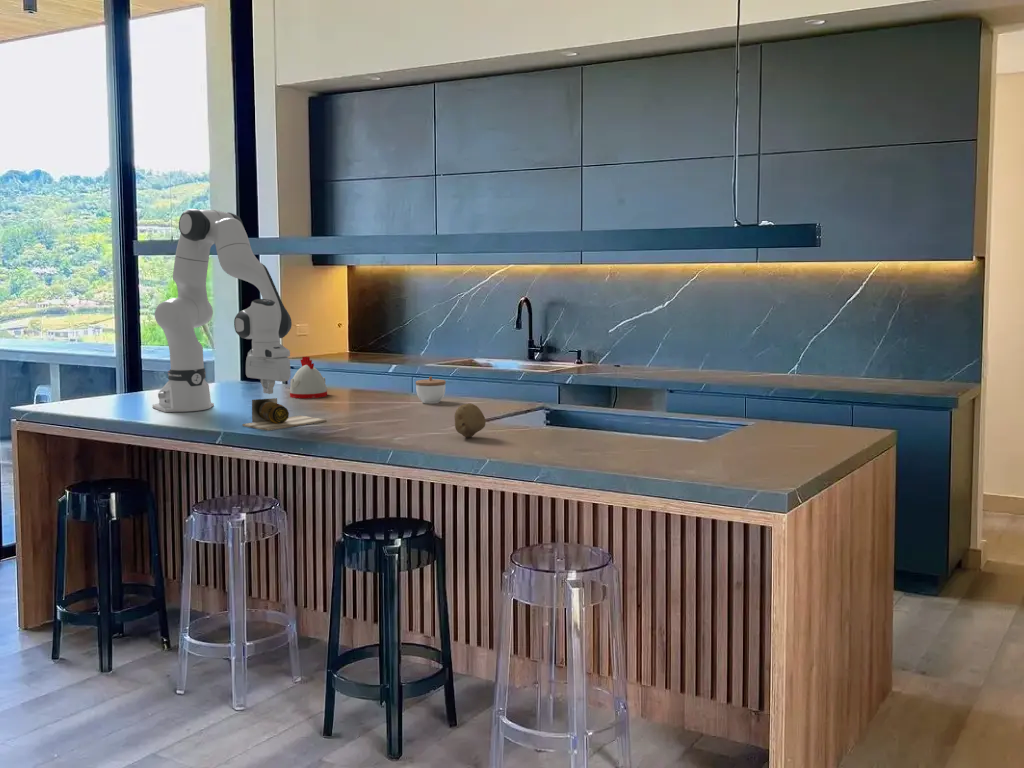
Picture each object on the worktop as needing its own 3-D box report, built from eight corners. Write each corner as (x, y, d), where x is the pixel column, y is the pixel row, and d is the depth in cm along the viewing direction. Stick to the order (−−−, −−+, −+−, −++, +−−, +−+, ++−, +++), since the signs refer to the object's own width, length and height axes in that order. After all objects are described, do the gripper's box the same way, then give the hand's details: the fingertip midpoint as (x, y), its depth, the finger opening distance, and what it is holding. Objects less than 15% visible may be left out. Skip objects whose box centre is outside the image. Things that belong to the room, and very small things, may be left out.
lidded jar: (449, 400, 378) (448, 374, 377) (442, 404, 368) (441, 378, 367) (420, 400, 380) (419, 374, 379) (412, 404, 370) (412, 378, 369)
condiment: (277, 420, 338) (291, 425, 328) (251, 422, 333) (265, 427, 324) (276, 398, 337) (291, 402, 328) (251, 399, 333) (265, 403, 323)
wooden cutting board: (242, 425, 328) (242, 424, 328) (300, 417, 344) (300, 415, 344) (268, 430, 319) (267, 428, 318) (326, 421, 334) (326, 419, 334)
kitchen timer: (314, 392, 405) (313, 354, 404) (334, 395, 395) (332, 356, 393) (283, 396, 396) (281, 356, 394) (302, 399, 386) (300, 359, 384)
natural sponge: (489, 435, 306) (488, 401, 304) (481, 440, 297) (480, 406, 296) (459, 434, 308) (458, 401, 306) (450, 439, 299) (449, 405, 298)
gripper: (239, 349, 337) (241, 391, 339) (276, 352, 323) (278, 397, 325) (256, 348, 342) (258, 389, 344) (293, 351, 328) (295, 394, 330)
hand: (268, 393), depth 334 cm, fingers closed
